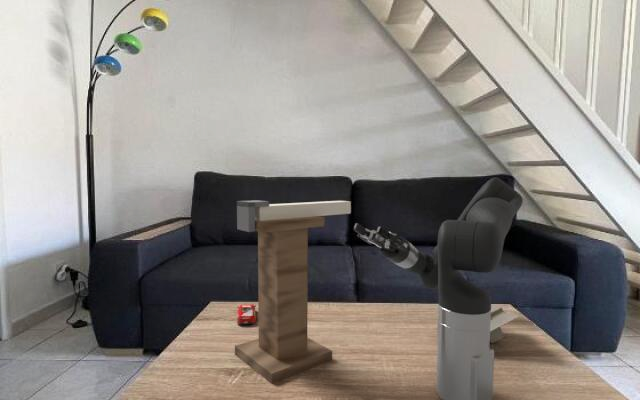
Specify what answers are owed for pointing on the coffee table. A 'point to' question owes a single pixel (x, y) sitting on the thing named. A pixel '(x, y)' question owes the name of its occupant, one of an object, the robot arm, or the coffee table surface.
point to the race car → (246, 314)
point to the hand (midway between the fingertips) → (366, 227)
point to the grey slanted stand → (499, 322)
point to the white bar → (285, 211)
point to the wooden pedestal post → (283, 302)
